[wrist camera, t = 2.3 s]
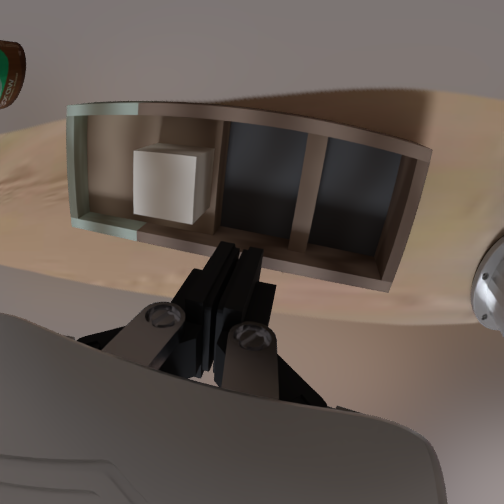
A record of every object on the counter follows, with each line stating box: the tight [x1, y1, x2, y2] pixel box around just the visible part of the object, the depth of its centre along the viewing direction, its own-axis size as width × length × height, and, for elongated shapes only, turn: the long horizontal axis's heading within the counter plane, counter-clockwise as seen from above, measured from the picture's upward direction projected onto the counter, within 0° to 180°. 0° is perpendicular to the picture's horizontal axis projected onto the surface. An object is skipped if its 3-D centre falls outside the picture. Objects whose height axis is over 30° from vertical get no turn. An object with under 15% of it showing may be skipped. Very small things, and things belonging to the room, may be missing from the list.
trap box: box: [66, 101, 432, 293], centre depth 25 cm, size 30×12×4 cm, turn 83°
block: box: [133, 143, 215, 224], centre depth 23 cm, size 5×5×4 cm
